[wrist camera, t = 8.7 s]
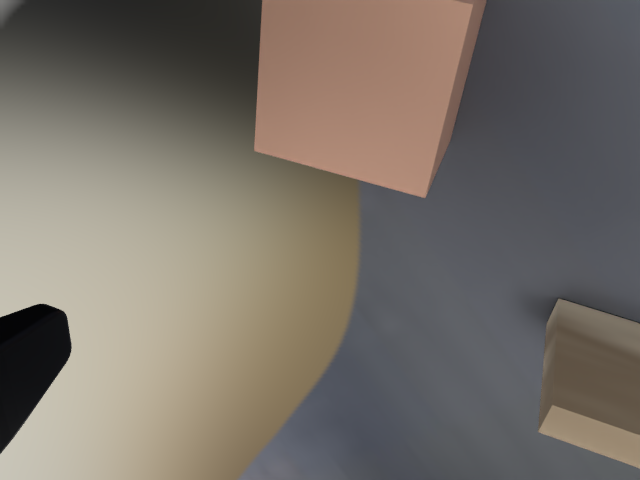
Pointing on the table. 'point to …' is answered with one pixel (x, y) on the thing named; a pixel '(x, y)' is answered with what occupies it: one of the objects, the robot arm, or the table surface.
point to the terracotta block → (364, 85)
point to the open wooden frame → (592, 381)
